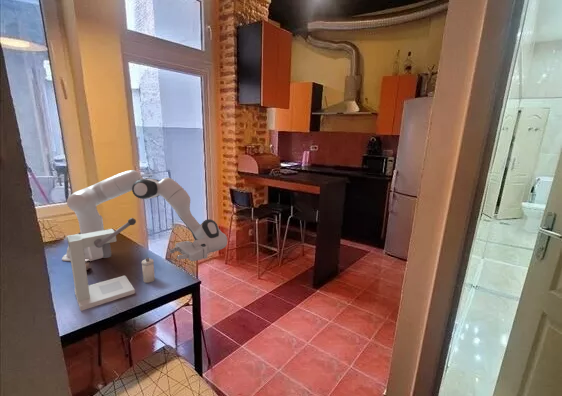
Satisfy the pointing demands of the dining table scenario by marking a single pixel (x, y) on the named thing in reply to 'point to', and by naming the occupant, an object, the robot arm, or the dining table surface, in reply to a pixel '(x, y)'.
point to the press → (83, 291)
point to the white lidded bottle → (148, 270)
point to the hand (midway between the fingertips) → (173, 254)
